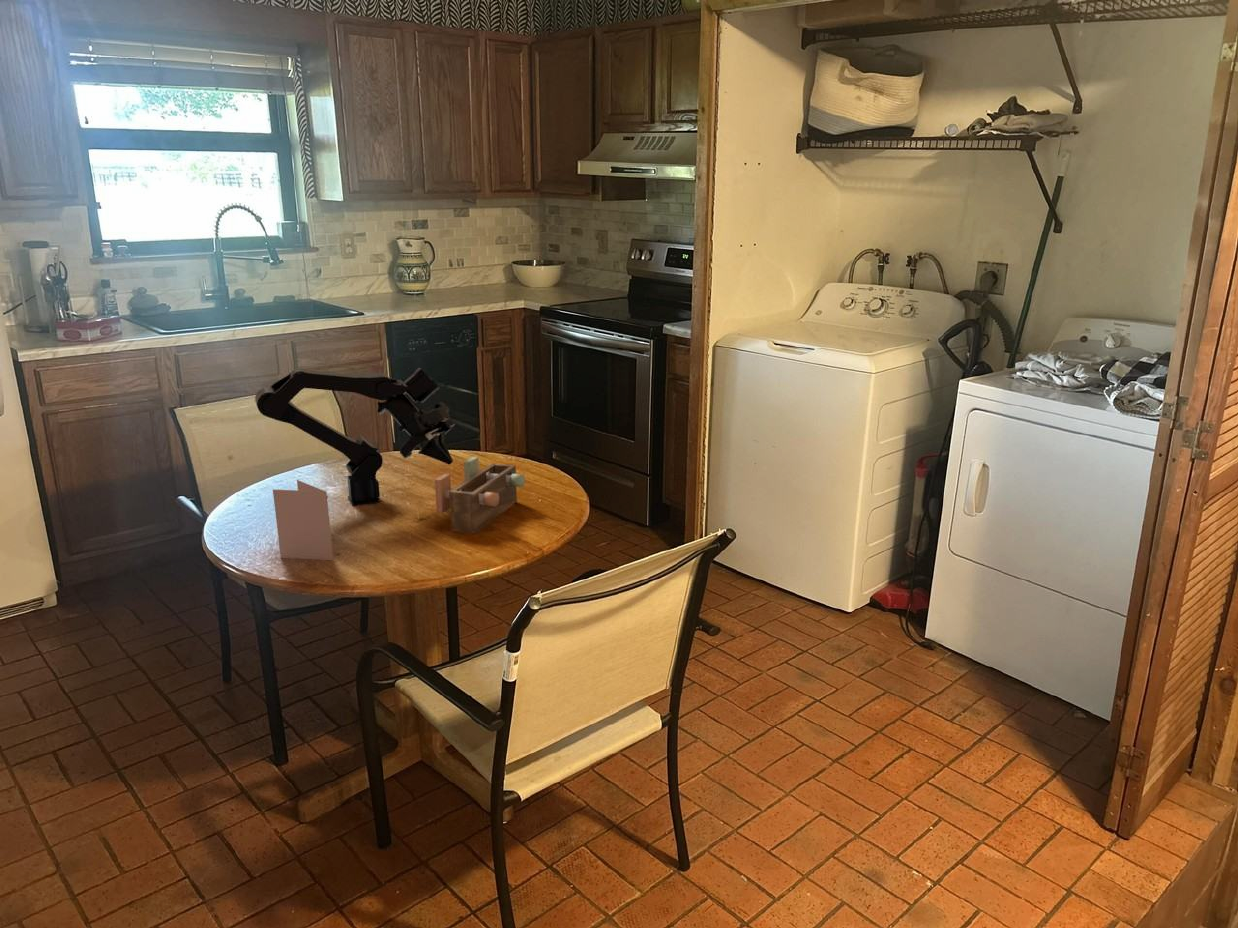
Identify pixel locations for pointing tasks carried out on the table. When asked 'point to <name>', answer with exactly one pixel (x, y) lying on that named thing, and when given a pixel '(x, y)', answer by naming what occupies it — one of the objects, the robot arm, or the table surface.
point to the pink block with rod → (445, 486)
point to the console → (466, 504)
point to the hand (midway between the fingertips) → (451, 463)
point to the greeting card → (303, 523)
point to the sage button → (473, 468)
